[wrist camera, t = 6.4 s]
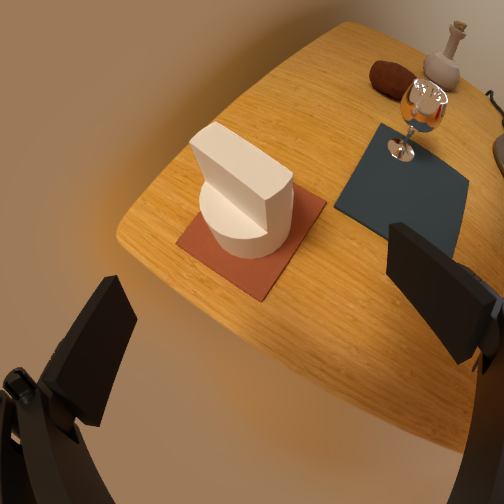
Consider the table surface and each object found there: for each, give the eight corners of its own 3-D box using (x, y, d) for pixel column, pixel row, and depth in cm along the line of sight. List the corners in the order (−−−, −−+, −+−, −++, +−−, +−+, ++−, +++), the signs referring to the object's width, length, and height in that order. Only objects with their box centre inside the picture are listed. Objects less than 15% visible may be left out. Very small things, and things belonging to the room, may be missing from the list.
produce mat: (244, 160, 34) (243, 158, 34) (326, 203, 31) (326, 201, 31) (176, 244, 31) (175, 243, 31) (261, 302, 28) (260, 302, 28)
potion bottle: (455, 99, 37) (485, 39, 20) (420, 81, 39) (444, 16, 22) (451, 81, 39) (475, 26, 22) (419, 65, 41) (438, 6, 24)
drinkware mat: (380, 124, 35) (381, 122, 35) (467, 182, 31) (469, 180, 30) (333, 207, 31) (333, 205, 31) (443, 279, 27) (445, 278, 27)
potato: (371, 74, 39) (377, 49, 33) (415, 94, 37) (425, 70, 31) (363, 90, 38) (370, 62, 32) (411, 112, 36) (423, 86, 30)
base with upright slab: (307, 219, 30) (321, 152, 19) (251, 275, 29) (235, 233, 18) (251, 175, 33) (239, 102, 22) (197, 223, 31) (159, 163, 20)
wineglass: (418, 171, 31) (455, 114, 20) (382, 157, 32) (411, 94, 21) (417, 143, 33) (446, 87, 22) (383, 130, 34) (406, 70, 23)
